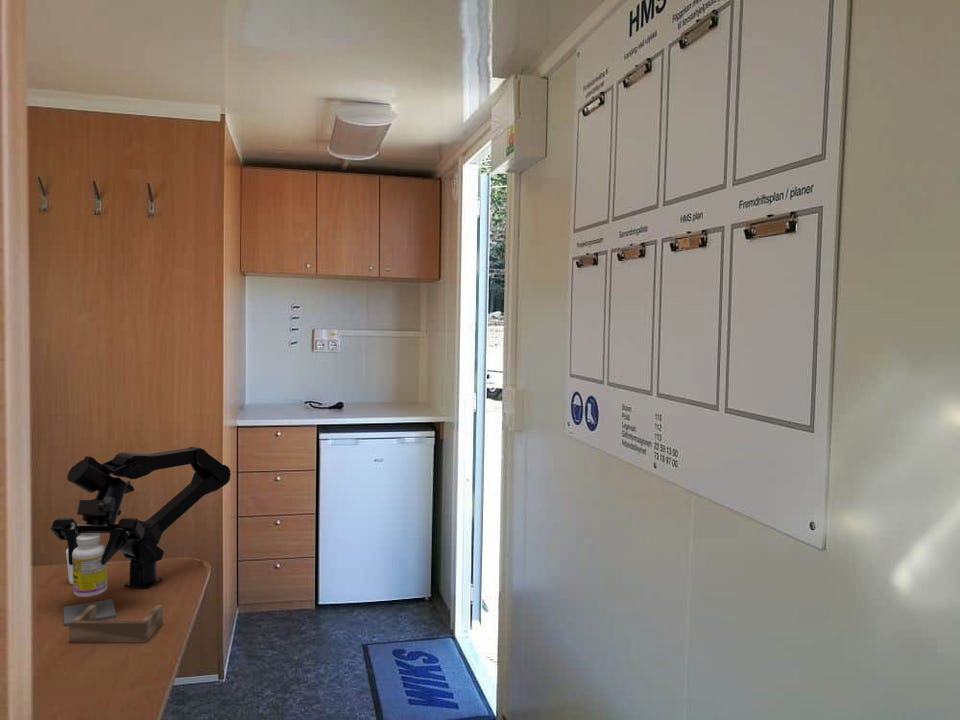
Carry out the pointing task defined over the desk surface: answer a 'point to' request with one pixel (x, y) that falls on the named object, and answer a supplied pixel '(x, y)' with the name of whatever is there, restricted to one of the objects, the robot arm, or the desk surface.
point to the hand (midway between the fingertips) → (86, 564)
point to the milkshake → (69, 569)
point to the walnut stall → (113, 627)
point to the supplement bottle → (89, 566)
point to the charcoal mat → (102, 607)
